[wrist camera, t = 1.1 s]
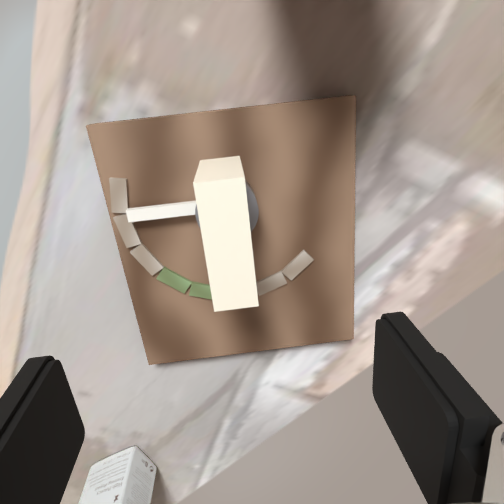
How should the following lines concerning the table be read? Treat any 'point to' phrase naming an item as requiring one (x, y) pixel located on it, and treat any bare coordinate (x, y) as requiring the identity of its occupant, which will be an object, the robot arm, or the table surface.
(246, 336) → the tuner board
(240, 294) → the pointer knob
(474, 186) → the table surface
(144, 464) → the skincare box
